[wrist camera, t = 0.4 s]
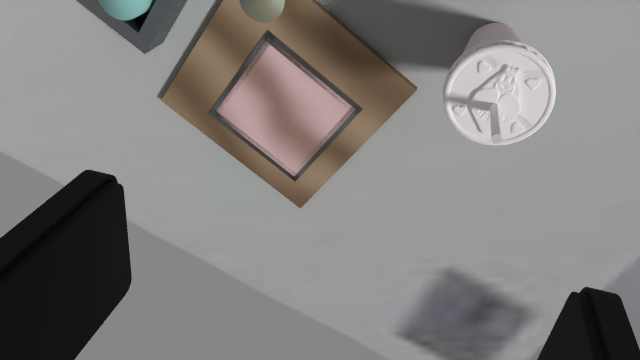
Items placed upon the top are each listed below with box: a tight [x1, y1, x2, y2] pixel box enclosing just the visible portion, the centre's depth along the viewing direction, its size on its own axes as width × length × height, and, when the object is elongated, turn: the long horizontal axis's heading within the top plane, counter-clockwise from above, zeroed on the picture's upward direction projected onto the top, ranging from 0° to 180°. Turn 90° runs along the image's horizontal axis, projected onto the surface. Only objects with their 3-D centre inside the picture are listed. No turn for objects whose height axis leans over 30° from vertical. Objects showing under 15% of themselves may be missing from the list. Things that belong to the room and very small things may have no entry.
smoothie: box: [443, 23, 556, 145], centre depth 34 cm, size 6×6×14 cm
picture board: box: [161, 0, 417, 208], centre depth 45 cm, size 16×16×1 cm
